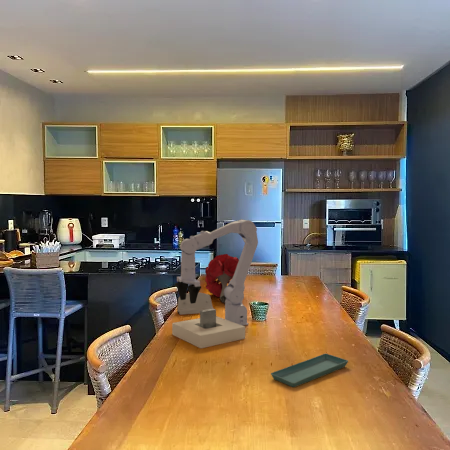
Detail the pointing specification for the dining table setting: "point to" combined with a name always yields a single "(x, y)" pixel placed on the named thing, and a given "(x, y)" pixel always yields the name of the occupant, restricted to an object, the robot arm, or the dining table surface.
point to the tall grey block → (208, 318)
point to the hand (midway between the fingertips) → (187, 301)
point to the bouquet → (220, 274)
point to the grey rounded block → (194, 304)
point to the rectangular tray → (309, 370)
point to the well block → (208, 332)
